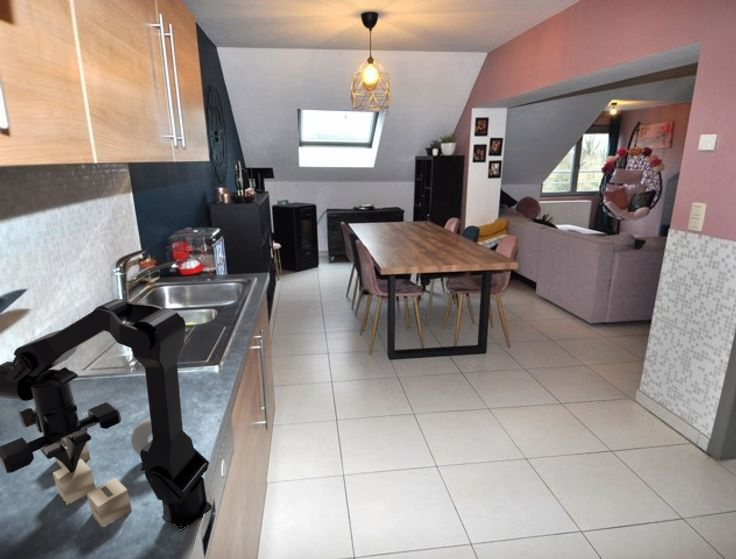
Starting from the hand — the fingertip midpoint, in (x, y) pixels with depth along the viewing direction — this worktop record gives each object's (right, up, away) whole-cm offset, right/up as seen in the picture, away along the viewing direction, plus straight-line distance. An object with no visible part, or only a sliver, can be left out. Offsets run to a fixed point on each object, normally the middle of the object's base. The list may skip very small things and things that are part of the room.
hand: (72, 470), depth 84 cm
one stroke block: (+10, -6, -3) cm, 12 cm away
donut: (+12, -2, +11) cm, 16 cm away
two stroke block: (-7, -2, +10) cm, 13 cm away
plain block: (0, -5, +2) cm, 5 cm away
